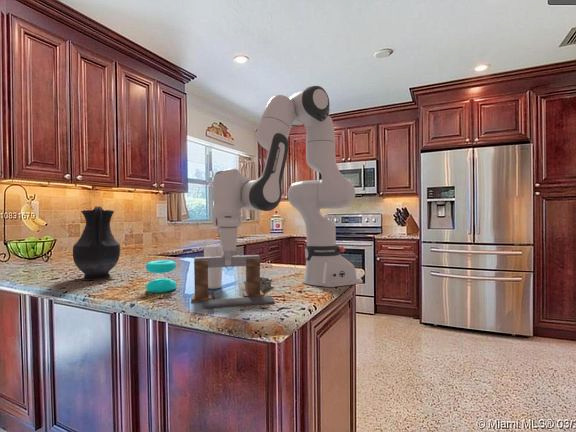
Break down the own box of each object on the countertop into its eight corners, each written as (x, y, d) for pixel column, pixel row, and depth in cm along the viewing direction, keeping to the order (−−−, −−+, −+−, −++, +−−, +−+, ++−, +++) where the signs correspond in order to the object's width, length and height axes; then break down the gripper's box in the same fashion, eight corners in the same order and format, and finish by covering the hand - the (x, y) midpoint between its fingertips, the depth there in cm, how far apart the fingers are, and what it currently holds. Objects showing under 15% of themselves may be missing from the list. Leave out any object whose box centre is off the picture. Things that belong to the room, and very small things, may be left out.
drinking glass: (219, 290, 116) (218, 247, 116) (201, 289, 117) (200, 246, 117) (226, 285, 123) (226, 245, 123) (209, 285, 124) (208, 244, 124)
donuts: (140, 263, 112) (153, 259, 122) (140, 293, 112) (153, 287, 122) (169, 263, 112) (180, 259, 122) (170, 293, 112) (180, 287, 122)
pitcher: (118, 272, 153) (117, 207, 152) (123, 280, 135) (122, 206, 135) (73, 276, 144) (72, 207, 144) (72, 285, 126) (70, 205, 126)
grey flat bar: (270, 297, 105) (270, 295, 105) (274, 303, 98) (274, 301, 98) (204, 302, 100) (204, 300, 100) (204, 308, 94) (204, 306, 94)
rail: (258, 263, 109) (258, 254, 109) (259, 265, 106) (259, 255, 106) (194, 266, 104) (194, 257, 104) (194, 268, 102) (194, 258, 102)
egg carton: (260, 293, 112) (260, 281, 112) (241, 291, 115) (241, 279, 115) (274, 286, 122) (274, 275, 122) (256, 285, 125) (256, 274, 124)
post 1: (211, 296, 107) (211, 257, 107) (211, 301, 101) (211, 260, 101) (192, 297, 106) (191, 258, 106) (191, 302, 100) (190, 261, 100)
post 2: (260, 293, 111) (260, 255, 111) (263, 297, 105) (263, 258, 105) (242, 294, 110) (242, 256, 109) (244, 298, 104) (244, 259, 104)
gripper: (216, 219, 115) (216, 260, 115) (217, 221, 95) (218, 269, 95) (234, 219, 116) (235, 259, 116) (240, 220, 96) (240, 268, 96)
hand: (227, 264), depth 105 cm, fingers closed on rail, 3 cm apart
